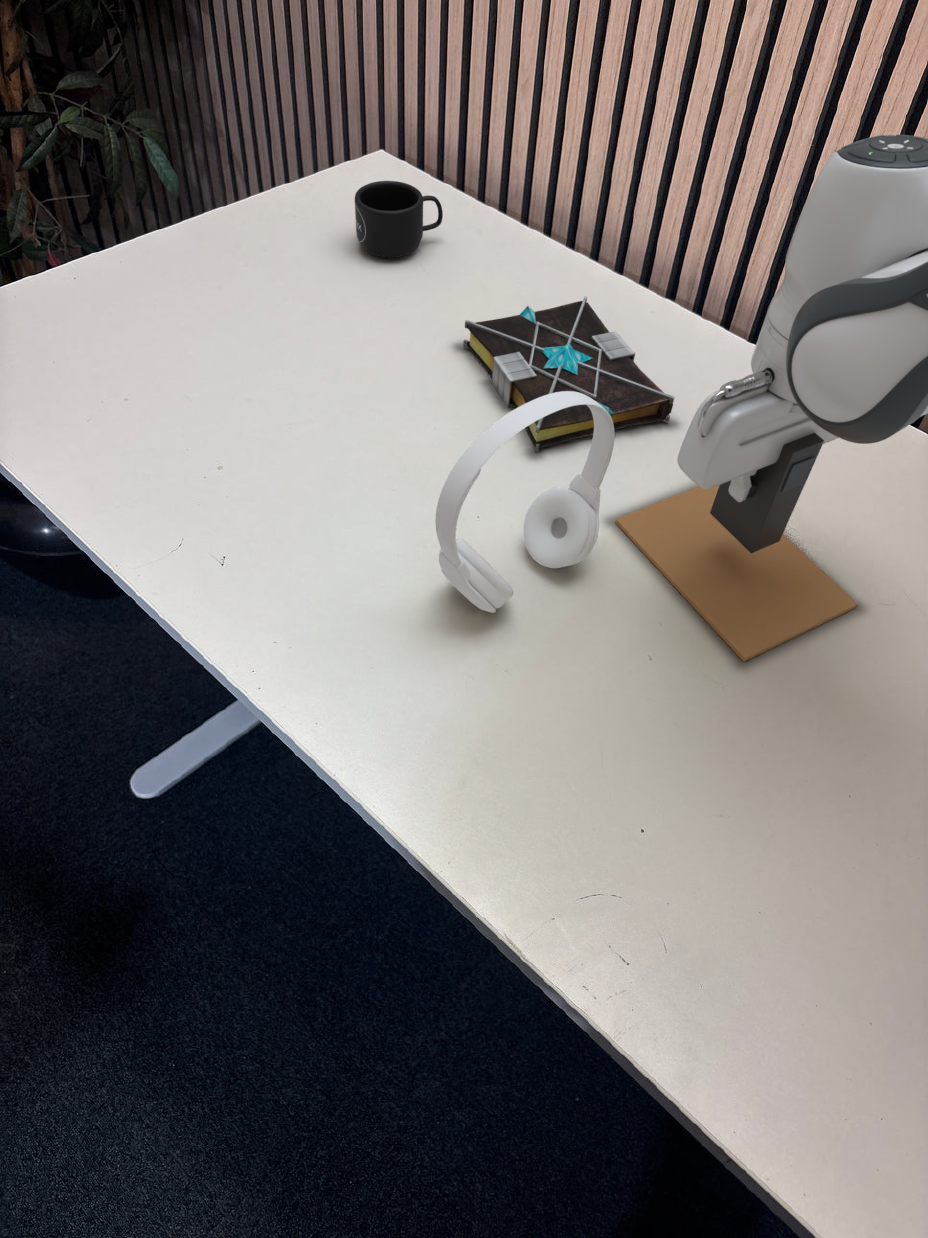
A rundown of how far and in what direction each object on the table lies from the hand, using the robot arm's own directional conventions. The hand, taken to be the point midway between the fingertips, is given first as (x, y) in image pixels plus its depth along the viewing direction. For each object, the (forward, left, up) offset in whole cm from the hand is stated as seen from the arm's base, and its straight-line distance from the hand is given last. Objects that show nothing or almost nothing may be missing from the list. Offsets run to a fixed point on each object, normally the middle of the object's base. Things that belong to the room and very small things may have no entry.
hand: (760, 487), depth 82 cm
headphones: (+8, +20, -10) cm, 24 cm away
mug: (+68, +2, -10) cm, 69 cm away
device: (0, 0, -5) cm, 5 cm away
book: (+32, -1, -10) cm, 34 cm away
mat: (0, 0, -10) cm, 10 cm away
